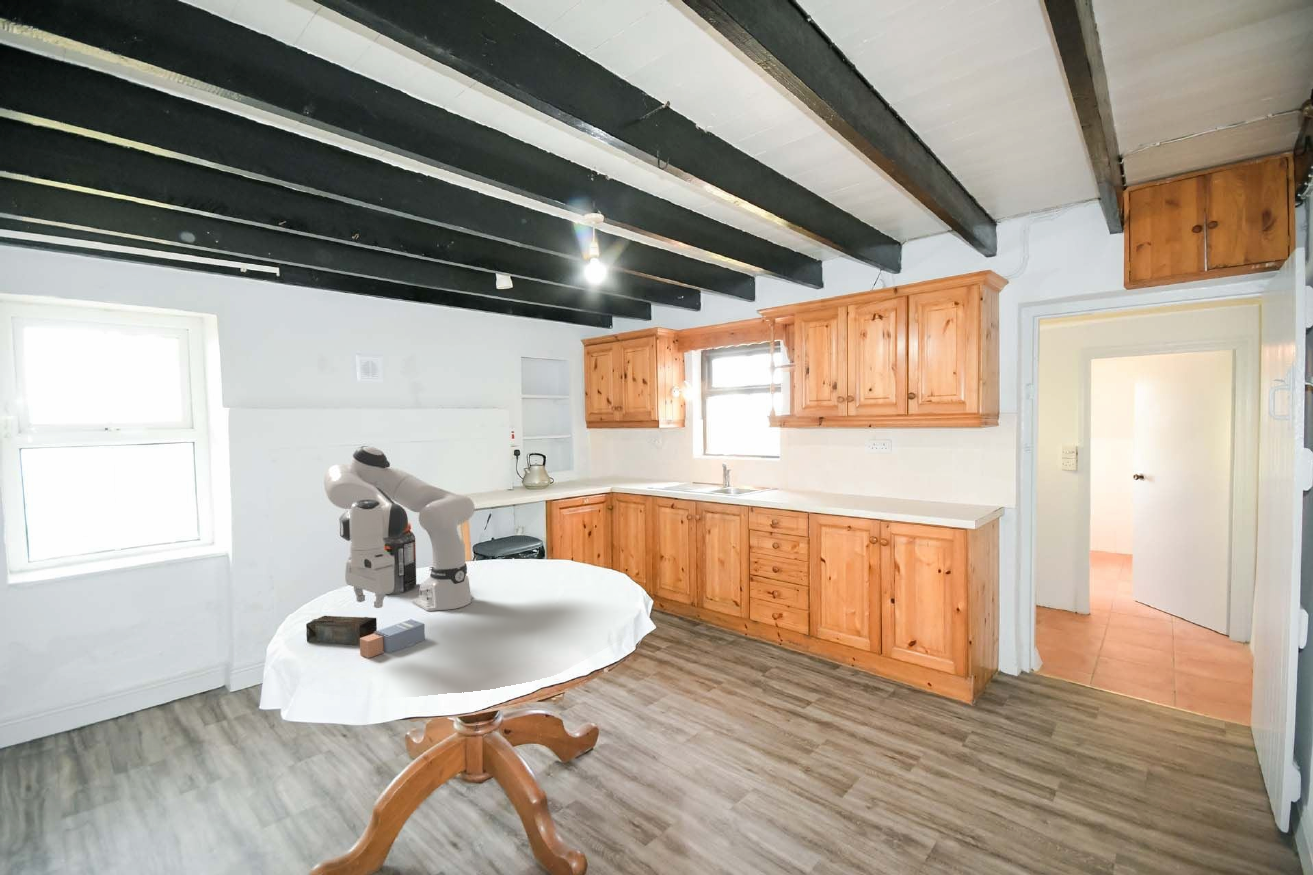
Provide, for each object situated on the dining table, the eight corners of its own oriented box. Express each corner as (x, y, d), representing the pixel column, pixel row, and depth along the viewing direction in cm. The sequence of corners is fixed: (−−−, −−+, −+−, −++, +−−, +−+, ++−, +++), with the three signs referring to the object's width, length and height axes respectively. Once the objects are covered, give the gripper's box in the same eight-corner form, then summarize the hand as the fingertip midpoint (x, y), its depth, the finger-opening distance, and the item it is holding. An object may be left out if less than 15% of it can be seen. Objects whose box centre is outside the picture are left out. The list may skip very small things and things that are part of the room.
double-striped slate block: (374, 648, 169) (374, 631, 168) (411, 634, 178) (411, 618, 178) (387, 653, 165) (387, 636, 164) (424, 639, 175) (424, 623, 174)
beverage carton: (324, 632, 182) (324, 612, 182) (378, 636, 179) (378, 615, 178) (305, 642, 174) (304, 621, 174) (361, 646, 171) (360, 624, 170)
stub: (360, 654, 164) (359, 637, 164) (375, 649, 167) (374, 632, 167) (368, 658, 161) (367, 640, 161) (383, 652, 165) (382, 635, 165)
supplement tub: (365, 590, 224) (363, 525, 223) (403, 581, 237) (401, 519, 236) (386, 598, 215) (384, 530, 214) (424, 587, 227) (422, 523, 226)
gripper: (338, 554, 166) (340, 600, 167) (376, 564, 155) (377, 614, 155) (359, 550, 172) (361, 595, 172) (398, 559, 160) (399, 607, 161)
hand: (369, 604), depth 164 cm, fingers open, 8 cm apart
